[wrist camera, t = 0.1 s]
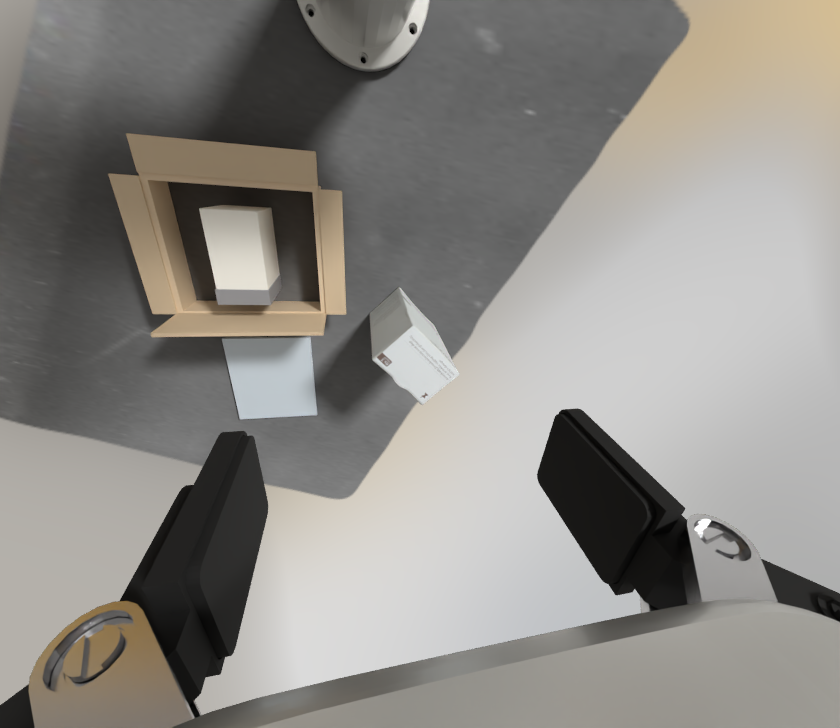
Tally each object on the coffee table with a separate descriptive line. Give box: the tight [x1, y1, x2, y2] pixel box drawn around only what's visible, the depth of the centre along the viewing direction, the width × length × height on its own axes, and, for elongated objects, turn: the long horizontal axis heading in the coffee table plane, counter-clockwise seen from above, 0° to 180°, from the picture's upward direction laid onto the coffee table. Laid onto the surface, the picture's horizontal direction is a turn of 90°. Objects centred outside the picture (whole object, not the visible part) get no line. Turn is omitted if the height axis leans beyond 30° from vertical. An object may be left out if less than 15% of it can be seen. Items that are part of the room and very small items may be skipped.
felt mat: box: [222, 337, 317, 419], centre depth 48 cm, size 13×11×1 cm
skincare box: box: [369, 287, 459, 405], centre depth 41 cm, size 8×6×15 cm
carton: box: [108, 133, 346, 337], centre depth 34 cm, size 17×21×10 cm
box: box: [199, 205, 282, 305], centre depth 36 cm, size 9×5×7 cm, turn 176°
